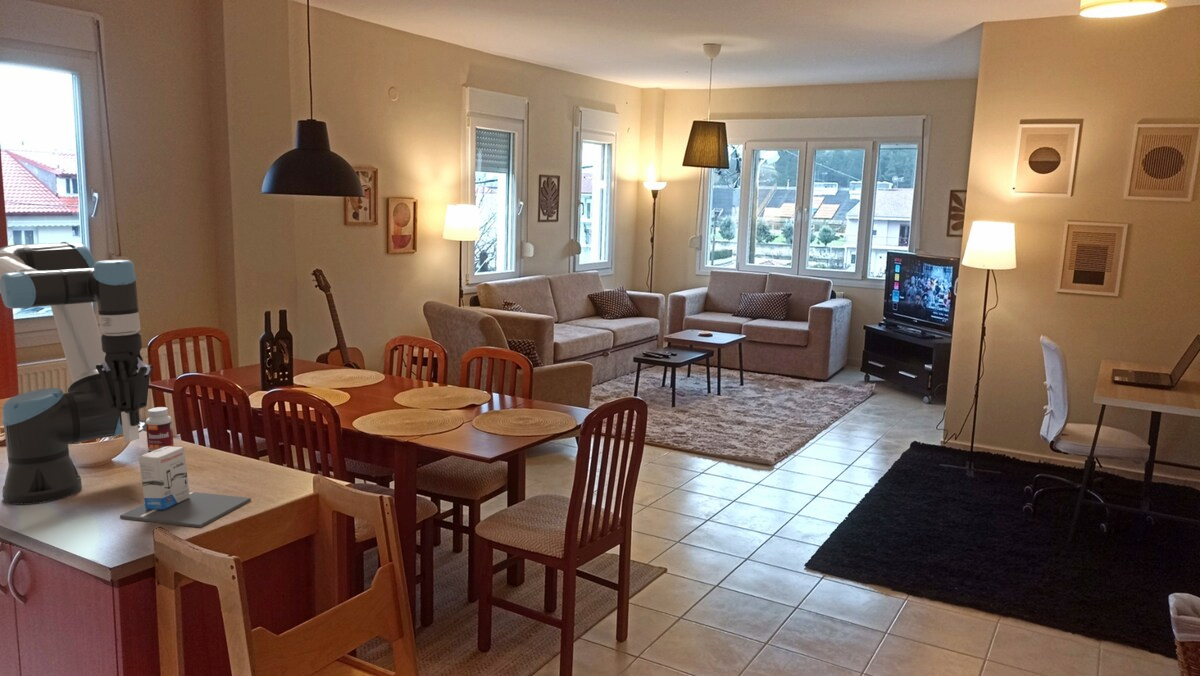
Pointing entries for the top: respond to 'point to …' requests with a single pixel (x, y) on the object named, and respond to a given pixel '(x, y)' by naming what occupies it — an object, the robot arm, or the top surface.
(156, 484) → the ink box
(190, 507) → the mat
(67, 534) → the top surface
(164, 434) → the pill bottle
